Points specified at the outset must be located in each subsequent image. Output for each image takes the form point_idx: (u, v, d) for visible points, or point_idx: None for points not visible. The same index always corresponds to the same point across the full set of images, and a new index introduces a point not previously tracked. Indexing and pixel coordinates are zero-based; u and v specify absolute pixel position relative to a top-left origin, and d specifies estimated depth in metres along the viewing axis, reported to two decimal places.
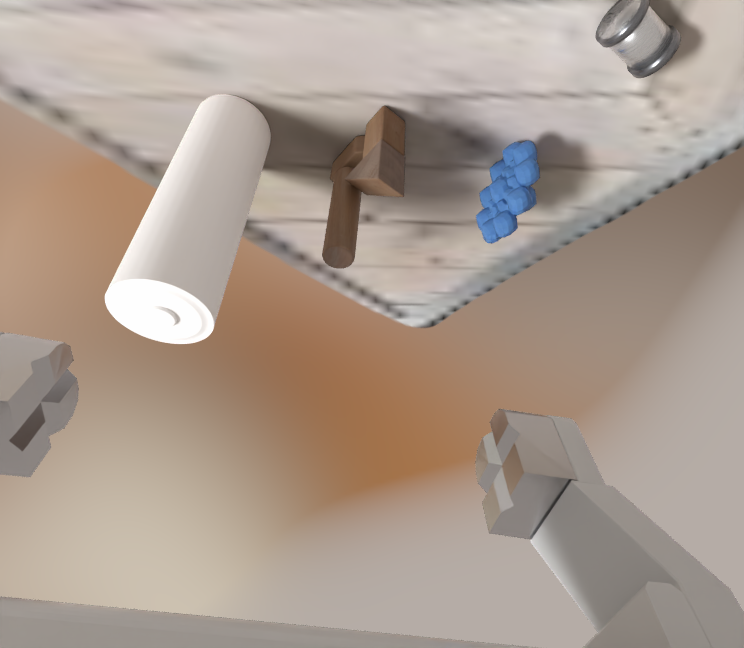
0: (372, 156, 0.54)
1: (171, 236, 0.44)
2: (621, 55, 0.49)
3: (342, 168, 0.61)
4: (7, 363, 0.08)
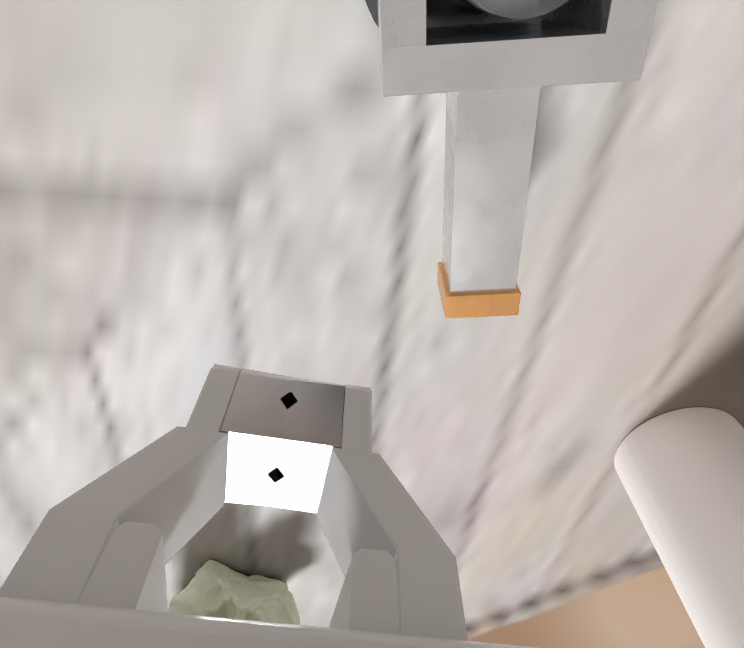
0: None
1: None
2: None
3: None
4: (261, 400, 0.08)
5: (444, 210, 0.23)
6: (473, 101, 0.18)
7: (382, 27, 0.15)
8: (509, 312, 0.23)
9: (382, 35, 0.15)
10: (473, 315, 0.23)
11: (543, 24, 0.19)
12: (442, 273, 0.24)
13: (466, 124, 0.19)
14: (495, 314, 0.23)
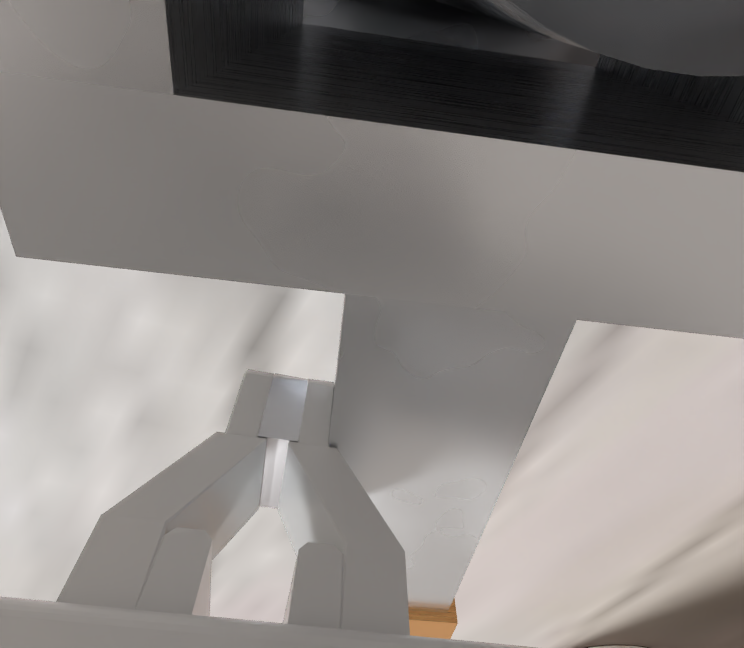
0: None
1: None
2: None
3: None
4: (296, 405, 0.08)
5: None
6: None
7: None
8: None
9: None
10: None
11: (614, 82, 0.07)
12: None
13: (371, 324, 0.06)
14: None
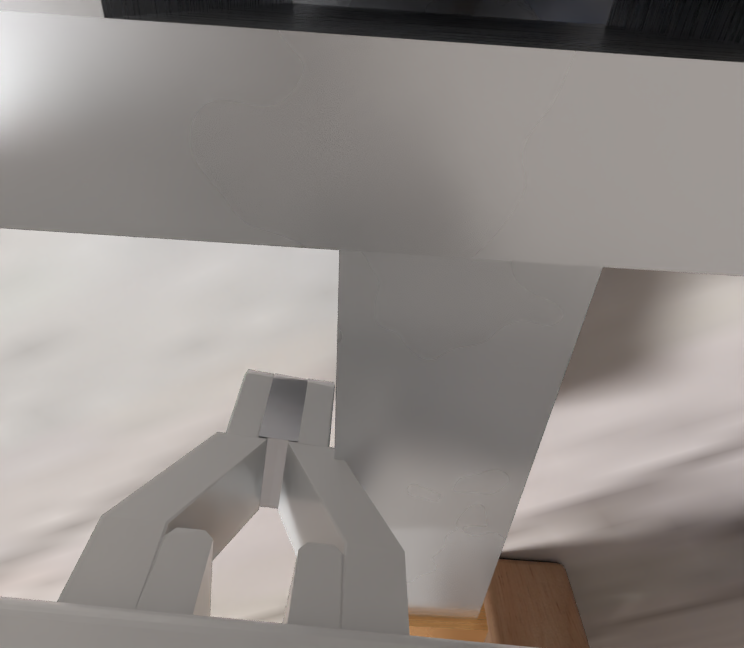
0: None
1: None
2: None
3: None
4: (296, 405, 0.08)
5: None
6: None
7: None
8: None
9: None
10: None
11: (626, 30, 0.07)
12: None
13: (369, 301, 0.06)
14: None
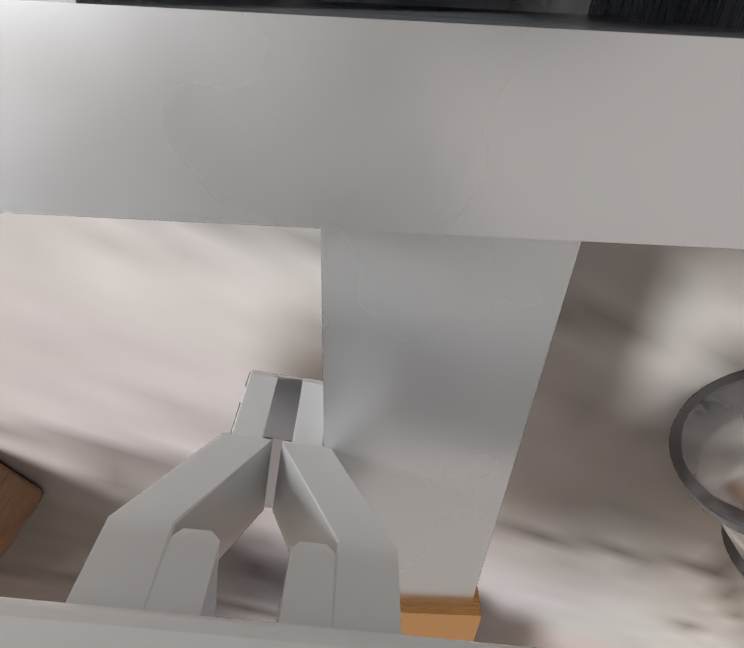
0: None
1: None
2: None
3: None
4: (301, 406, 0.08)
5: None
6: None
7: None
8: (454, 639, 0.11)
9: None
10: None
11: (603, 17, 0.07)
12: None
13: (353, 286, 0.06)
14: (424, 635, 0.11)
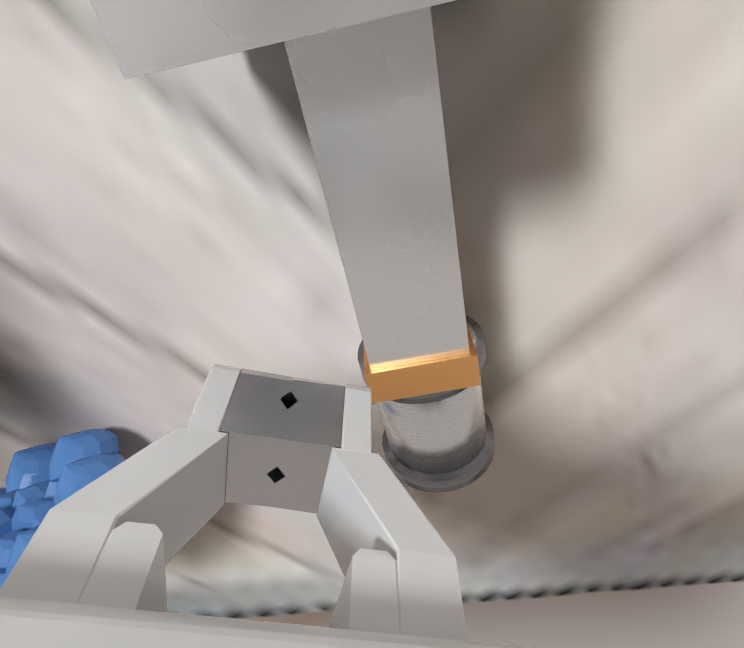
0: None
1: None
2: (387, 420, 0.20)
3: None
4: (261, 400, 0.08)
5: None
6: (320, 66, 0.10)
7: None
8: (466, 383, 0.15)
9: None
10: (412, 394, 0.15)
11: None
12: None
13: (320, 109, 0.11)
14: (446, 388, 0.15)
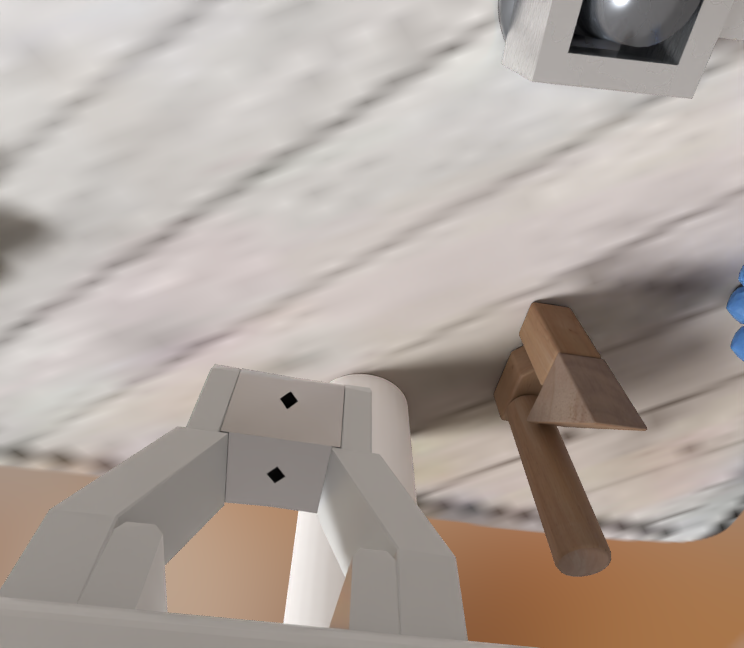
0: (559, 383, 0.35)
1: None
2: None
3: (513, 402, 0.43)
4: (261, 400, 0.08)
5: None
6: None
7: (655, 93, 0.25)
8: None
9: (659, 94, 0.25)
10: None
11: None
12: None
13: (729, 29, 0.25)
14: None
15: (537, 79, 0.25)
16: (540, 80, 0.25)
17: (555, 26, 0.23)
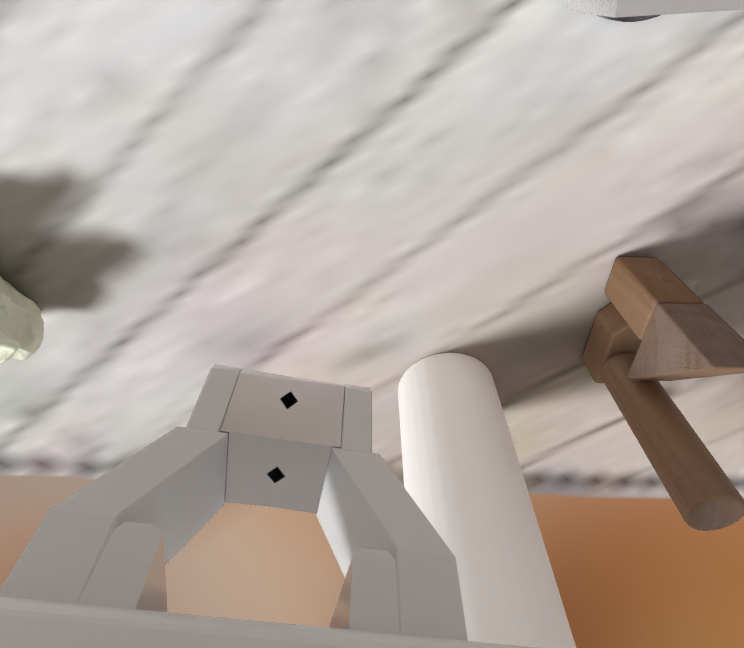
0: (662, 333, 0.34)
1: None
2: None
3: (607, 362, 0.41)
4: (261, 400, 0.08)
5: None
6: None
7: None
8: None
9: None
10: None
11: None
12: None
13: None
14: None
15: (620, 14, 0.24)
16: (623, 14, 0.24)
17: None
